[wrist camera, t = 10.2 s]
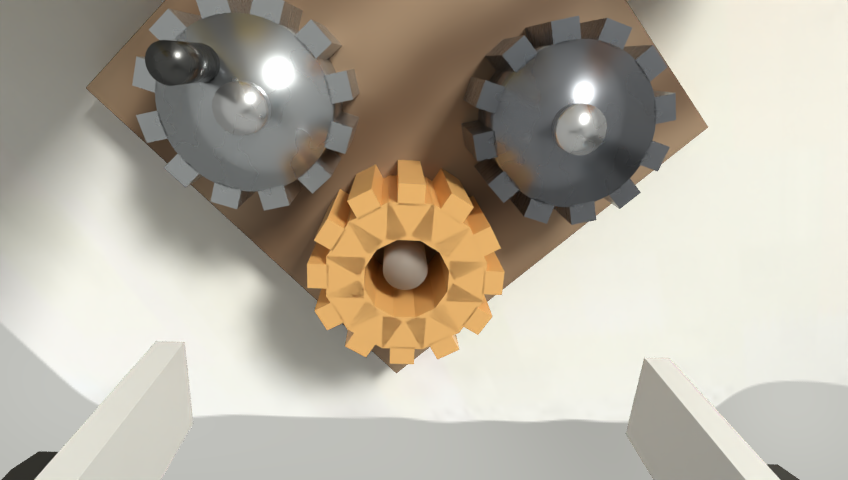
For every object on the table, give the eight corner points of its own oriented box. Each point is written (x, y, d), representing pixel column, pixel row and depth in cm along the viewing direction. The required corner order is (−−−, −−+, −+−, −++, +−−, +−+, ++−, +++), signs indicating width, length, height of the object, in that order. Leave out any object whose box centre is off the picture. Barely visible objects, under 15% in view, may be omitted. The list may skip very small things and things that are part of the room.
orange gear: (475, 314, 28) (492, 366, 23) (323, 309, 27) (308, 361, 23) (492, 165, 25) (515, 189, 20) (322, 155, 24) (306, 178, 20)
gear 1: (396, 107, 24) (396, 125, 17) (273, 220, 25) (231, 276, 19) (263, -45, 21) (206, -90, 15) (137, 91, 23) (34, 104, 16)
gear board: (686, 122, 27) (763, 139, 21) (396, 354, 31) (396, 420, 25) (430, -264, 21) (443, -384, 15) (109, 85, 25) (24, 93, 19)
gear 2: (664, 124, 25) (724, 138, 20) (530, 232, 26) (558, 268, 22) (567, -19, 22) (610, -39, 18) (425, 109, 24) (433, 121, 19)
